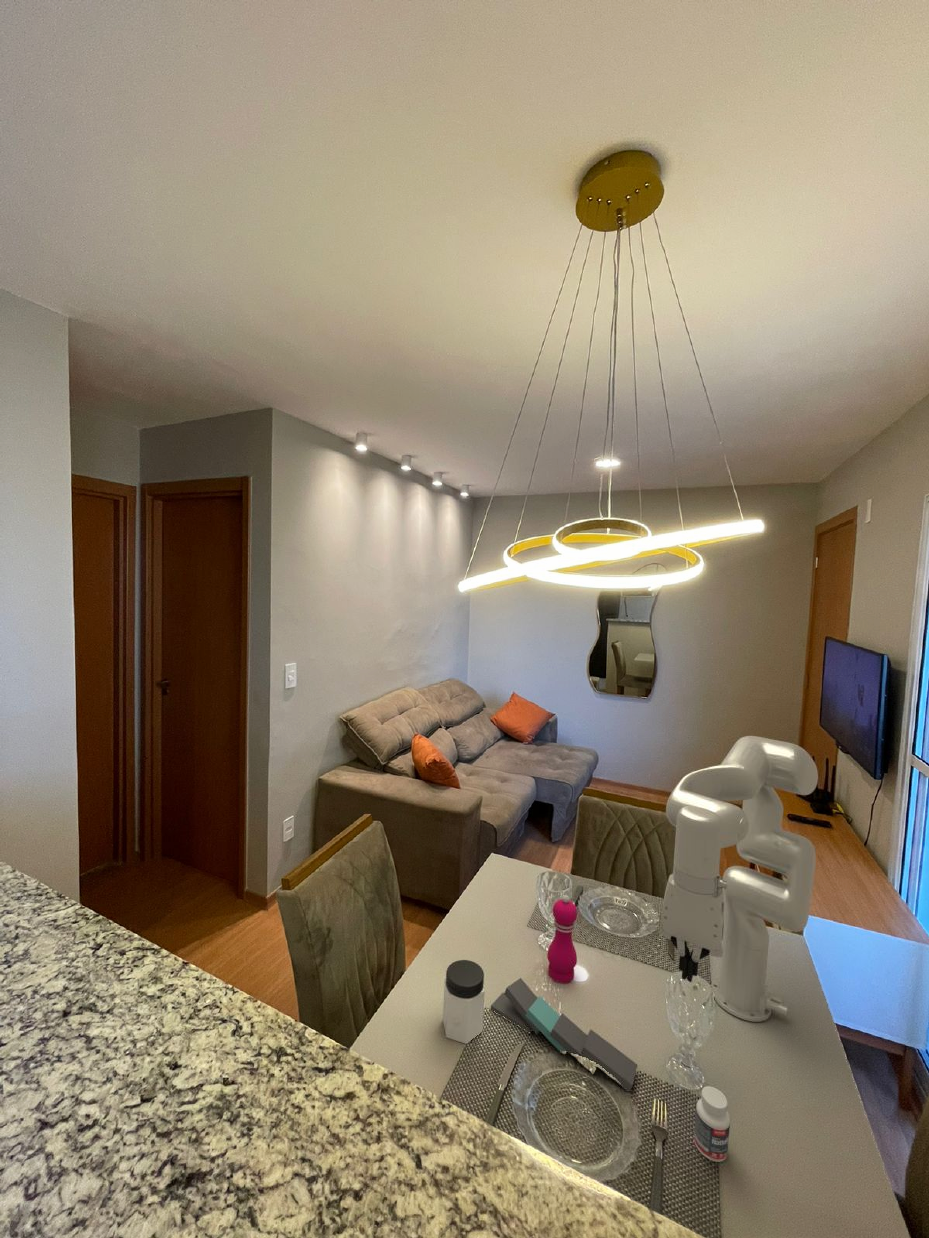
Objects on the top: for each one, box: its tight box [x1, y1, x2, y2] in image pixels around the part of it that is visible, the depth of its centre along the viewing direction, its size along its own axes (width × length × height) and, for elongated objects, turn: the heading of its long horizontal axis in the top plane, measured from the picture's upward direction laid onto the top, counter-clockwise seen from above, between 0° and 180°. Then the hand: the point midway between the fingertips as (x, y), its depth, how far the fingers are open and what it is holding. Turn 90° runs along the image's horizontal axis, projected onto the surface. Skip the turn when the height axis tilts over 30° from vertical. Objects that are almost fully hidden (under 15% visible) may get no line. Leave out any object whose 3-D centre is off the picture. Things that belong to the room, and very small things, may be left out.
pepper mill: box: [546, 894, 578, 984], centre depth 128 cm, size 7×7×20 cm
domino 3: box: [526, 995, 566, 1051], centre depth 109 cm, size 2×5×10 cm
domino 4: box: [550, 1013, 588, 1057], centre depth 105 cm, size 2×5×10 cm
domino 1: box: [490, 992, 532, 1033], centre depth 115 cm, size 2×5×10 cm
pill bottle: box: [693, 1085, 731, 1163], centre depth 89 cm, size 5×5×9 cm
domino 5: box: [581, 1028, 638, 1092], centre depth 102 cm, size 2×5×10 cm
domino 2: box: [503, 977, 541, 1036], centre depth 114 cm, size 2×5×10 cm
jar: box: [442, 959, 486, 1045], centre depth 110 cm, size 9×8×12 cm
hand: (687, 975), depth 94 cm, fingers closed
